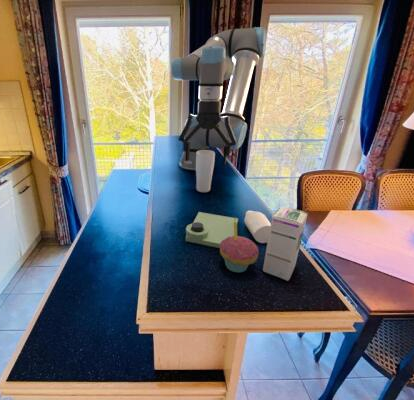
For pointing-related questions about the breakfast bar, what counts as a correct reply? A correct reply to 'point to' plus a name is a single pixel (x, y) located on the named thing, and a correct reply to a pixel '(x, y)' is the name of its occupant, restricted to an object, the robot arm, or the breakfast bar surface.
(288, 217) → the syrup box
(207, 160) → the drinking glass
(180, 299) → the breakfast bar surface
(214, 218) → the scale
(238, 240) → the cupcake
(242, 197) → the breakfast bar surface
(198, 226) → the button
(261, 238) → the roll
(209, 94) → the robot arm
